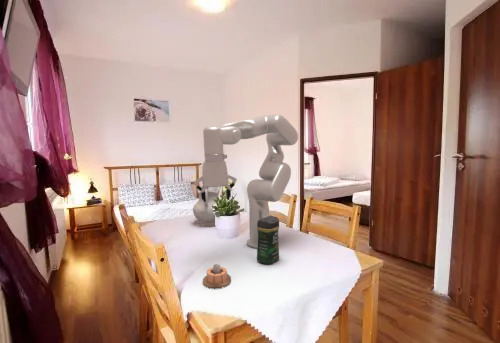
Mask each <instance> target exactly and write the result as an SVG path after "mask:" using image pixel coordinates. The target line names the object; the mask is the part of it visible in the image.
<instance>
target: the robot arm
mask: <svg viewBox="0 0 500 343" xmlns="http://www.w3.org/2000/svg"><path fill="white" fill-rule="evenodd" d="M202 135H203V150H204V154H203V155H204V161H202V168H201V170H202V171H201V172H202V173H201V174H202V175H201V177H199V178H197V179H196V180H194V181H193V184H194V186H195V187H196V190H197V189H198V190H200V191H201V196H202V200H203V201H204V202H206V196H205V189H206V188H207V187H219V188H220V187H225V188H226V190H225V192H226V199H227V200H228V201H229V200H231V197H232V194H231V193H232V192H231V191H232V188H233V187H235V184H236V183H237V178H236V177H234V176H232V175H230V174H229V173H228V167H227V162H226V161H225V160H226V159H227V158H228V155H227V154H225V153H224V145H228V146H231V145H232V146H233V145H235V144H238V143H239V142H240V141H241V140H249V139H254V138H257V137H260V136H264V135H266V136H265V137H266V140H265V141H266V143H267V147H268V149H267V151H268V152H267V155H266V156H265V159H264V161H263V162H262V163H261V166H260V167H259V169H258V170H259V171H258V176H259V177H260V178H261V179H259V178H256V179H255V178H254V179H252V180H251V181H249V183H248V184H247V187H246V194H247V198H248V208H249V212H248V213H249V220H248V221H249V239H247V241H246V246H248V247H250V248H251V249H252V248H253V249H258V229H257V223H258V220H260V219H263V218H265V217H268V216H270V206H269V203H268V202H271V203H276V202H279V200H281V198H282V196H283V194H284V192H285V190H286V187H287V186H288V184H289V182H290V179H291V176H292V169H291V167H290V165H289V164H288V163H287V162H283V161H284V159H285V154H284V151H283V150H282V147H281V146H293V145H295V144H296V143H297V142H298V139H299V133H298V130H296V128H295V127H294V126H293V125H292V124H291V123H290V122H289V120H288V119H287V118H286V117H284V116H283V115H282V114H267V115H265V114H264V115H262V116H257V117H253V118H249V119H245V120H244V119H243V120H239V121H236V122H232V123H231V122H230V123H226V124H222V125H218V126H217V125H216V126H207V127H205V128H203V132H202ZM229 180H231V183H230V184H229ZM201 182H202V185H203V186H202V185H201V186H202V188H201V186H200V185H199V183H201ZM278 240H280V237H279V235H278Z"/></svg>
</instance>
